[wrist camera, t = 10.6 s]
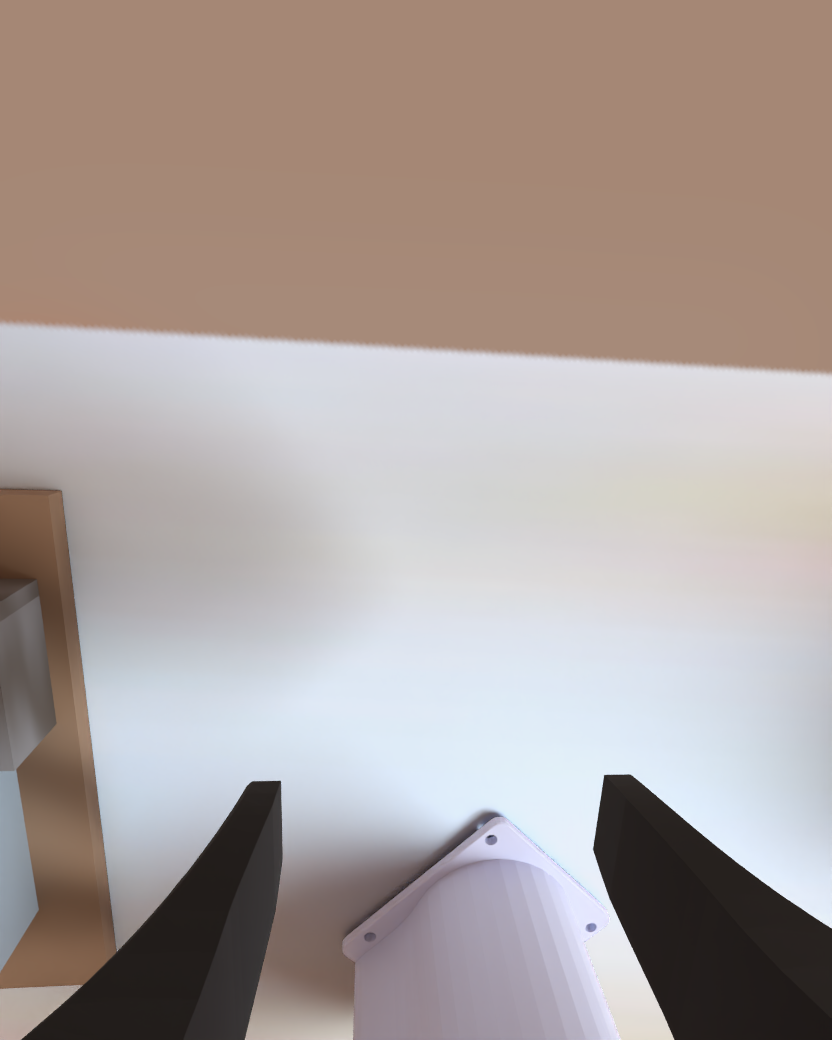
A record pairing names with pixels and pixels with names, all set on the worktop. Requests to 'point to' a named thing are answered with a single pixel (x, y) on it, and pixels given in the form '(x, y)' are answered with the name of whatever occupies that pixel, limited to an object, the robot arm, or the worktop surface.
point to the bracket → (50, 748)
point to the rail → (14, 869)
